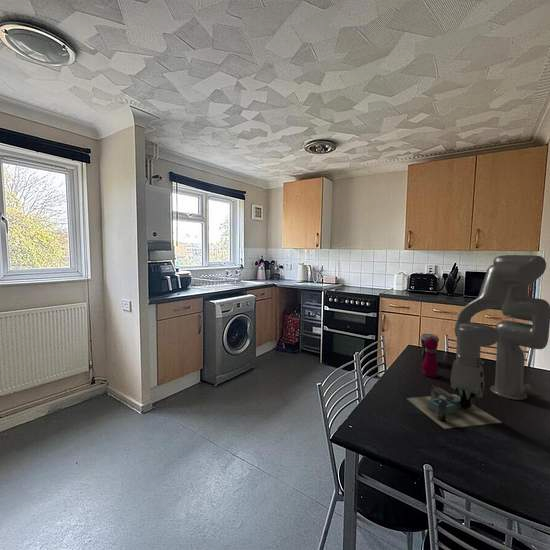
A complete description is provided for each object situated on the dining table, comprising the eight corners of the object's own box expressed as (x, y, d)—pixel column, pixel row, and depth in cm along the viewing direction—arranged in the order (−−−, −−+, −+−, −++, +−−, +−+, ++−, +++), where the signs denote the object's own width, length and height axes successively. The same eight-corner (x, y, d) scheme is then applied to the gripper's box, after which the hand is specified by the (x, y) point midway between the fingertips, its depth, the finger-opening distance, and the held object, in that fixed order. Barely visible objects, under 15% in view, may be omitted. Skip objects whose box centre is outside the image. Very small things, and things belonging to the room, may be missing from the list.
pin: (442, 417, 110) (443, 398, 110) (447, 421, 108) (448, 402, 107) (435, 418, 110) (436, 399, 109) (440, 422, 107) (441, 402, 107)
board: (455, 396, 129) (456, 381, 128) (502, 425, 107) (503, 407, 107) (405, 401, 125) (406, 385, 125) (444, 431, 103) (444, 412, 103)
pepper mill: (439, 378, 148) (441, 338, 147) (423, 377, 150) (425, 337, 148) (435, 372, 155) (436, 334, 154) (420, 371, 157) (421, 333, 155)
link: (462, 399, 123) (462, 387, 123) (477, 407, 117) (478, 394, 117) (427, 407, 117) (428, 395, 117) (442, 415, 111) (442, 402, 111)
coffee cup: (422, 364, 167) (423, 337, 166) (417, 358, 177) (418, 332, 176) (441, 365, 166) (442, 338, 165) (434, 359, 175) (435, 333, 174)
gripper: (495, 364, 109) (492, 413, 111) (452, 352, 122) (450, 397, 123) (485, 368, 105) (483, 419, 106) (442, 356, 118) (440, 402, 119)
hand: (465, 407), depth 115 cm, fingers closed
